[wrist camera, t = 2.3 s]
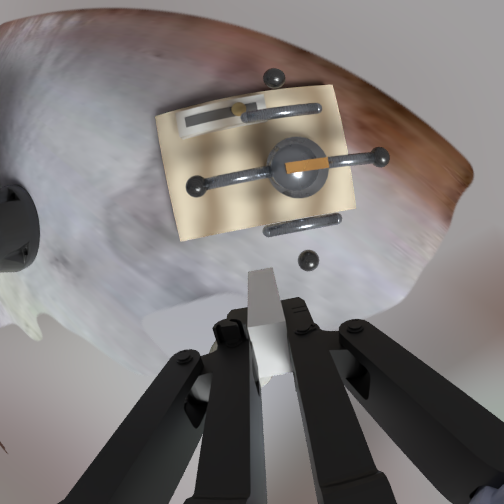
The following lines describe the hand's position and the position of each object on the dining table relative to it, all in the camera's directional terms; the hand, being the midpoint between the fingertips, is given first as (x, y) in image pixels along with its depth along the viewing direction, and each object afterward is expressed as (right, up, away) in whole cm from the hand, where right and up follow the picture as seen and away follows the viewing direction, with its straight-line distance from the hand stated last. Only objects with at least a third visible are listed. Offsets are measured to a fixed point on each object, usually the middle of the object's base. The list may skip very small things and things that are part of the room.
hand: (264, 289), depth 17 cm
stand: (0, +14, +15) cm, 20 cm away
